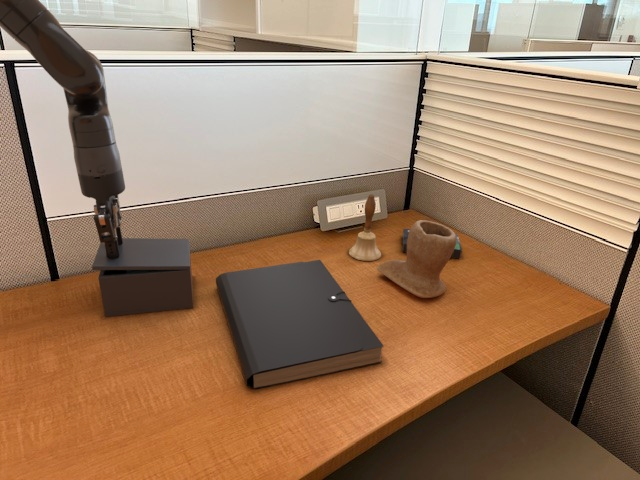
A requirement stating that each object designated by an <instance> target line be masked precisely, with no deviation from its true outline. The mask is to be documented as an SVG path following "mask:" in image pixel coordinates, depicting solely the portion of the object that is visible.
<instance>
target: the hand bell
mask: <svg viewBox="0 0 640 480" xmlns="http://www.w3.org/2000/svg"><path fill="white" fill-rule="evenodd" d="M364 204H365V205H364V215H365V221H364V227H363V231H360V232H359V233H358V234H357V237H356V241H355V243H354V245H353V246H351V247H350V248H349V250H348V254H349V256H350V257H352V258H353V259H355V260H359V261H362V262H373V261H377V260H380V259H381V257H382V252H381V251H380V249H379V248H378V245H377V241H376V239H377V238H376V237H377V236H376V234H375V233H374V232H372V222H373V221H372V220H373V217H374V215H375V212H376V206H377V205H376V204H377V203H376V199H375V195H374V194H368V196H367V199H366V201H365V203H364Z"/></svg>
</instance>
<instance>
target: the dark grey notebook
mask: <svg viewBox="0 0 640 480" xmlns="http://www.w3.org/2000/svg"><path fill="white" fill-rule="evenodd" d="M215 284H216V288H217V291H218V295H219V298H220V301H221V305H222V308H223V312H224V314H225V319H226V322H227V325H228V328H229V331H230V335H231V338H232V341H233V344H234V348H235V351H236V355H237V359H238V361H239V366H240V369H241V371H242V375H243V378H244V381H245V384H246V386H247V387H248V388H249V389H251V390H260V389H264V388H270V387H274V386H279V385H283V384H287V383H288V384H289V383H292V382H297V381H302V380H306V379H310V378H315V377H316V378H317V377H320V376H325V375H330V374H334V373H339V372H343V371H349V370H353V369H357V368H358V369H359V368H361V367H366V366H371V365H375V364H380V363H383V361H382V353H383V347H384V344H383V343H382V341H381V340H380V339H379V337H378V336H377V334H375V332H374V330H373V329H372V328H371V326H370V325H369V324H368V322H367V320H365V319H364V316H362V314H361V313H360V311H359V310H358V309H357V308H356V306H355V305H354V303H353V301H352V300H351V299H350V297H348V295H347V294H346V291H344V290H343V289H342V287H341V285H340V284H339V283H338V282H337V280H336V279H335V278H334V277H333V275H332V274H331V273H330V271H329V269H328V268H327V267H326V266H325V265H324V263H323V262H322V260H321V259H315V260H309V261H297V262H290V263H284V264H283V263H282V264H276V265H269V266H263V267H255V268H247V269H240V270H234V271H228V272H227V271H226V272H223V273H220V274H218V275H217V276H216V278H215Z"/></svg>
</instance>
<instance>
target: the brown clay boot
mask: <svg viewBox="0 0 640 480" xmlns="http://www.w3.org/2000/svg"><path fill="white" fill-rule="evenodd" d="M409 229H410V231H409V234H408V240H407V253H406V260H405V259H404V260H400V259H389V260H385V261H384V262H382V263H380V264H378V266H377V268H376V270H377V271H378V272H379V273H380V274H382V275H384V276H385V277H387V278H388V279H389V280H390V281H392V282H393V283H395V284H396V285H398V286H399V287H401V288H402V289H404V290H405V291H407V292H409V293H411V294H413V295H414V296H416V297H418V298H420V299H432V298H436V297H439V296H441V295H443V294H444V293H445V292H446V290H447V285H446V284H445V283H444V282H443V281H442V279H441V273H442V271H443V270H444V268H445V267H446V265H447V263H448V262H449V261H450V259H451V258H452V257H451V255H452V253H453V251H454V249H455V246H456V235H457V234H456V233H455V231H454V230H453V229H451V228H450V227H447V226H446V225H444V224H441V223H438V222H435V221H431V220H425V219H420V220H417V221H415V222H414V223H413V224H412V225H411V227H409Z"/></svg>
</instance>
